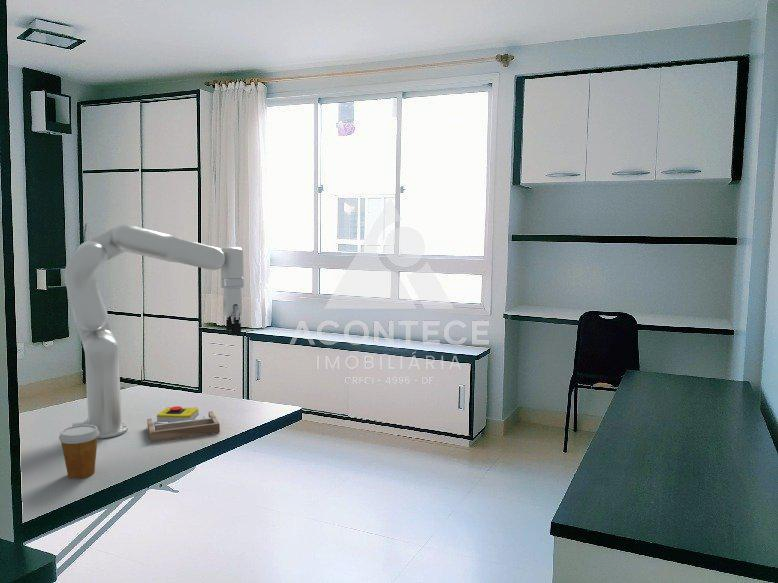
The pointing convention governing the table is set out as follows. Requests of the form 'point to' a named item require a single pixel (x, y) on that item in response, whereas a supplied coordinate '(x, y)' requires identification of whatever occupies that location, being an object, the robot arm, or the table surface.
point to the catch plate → (182, 424)
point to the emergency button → (177, 414)
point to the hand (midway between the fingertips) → (233, 332)
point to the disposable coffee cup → (79, 450)
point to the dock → (183, 430)
